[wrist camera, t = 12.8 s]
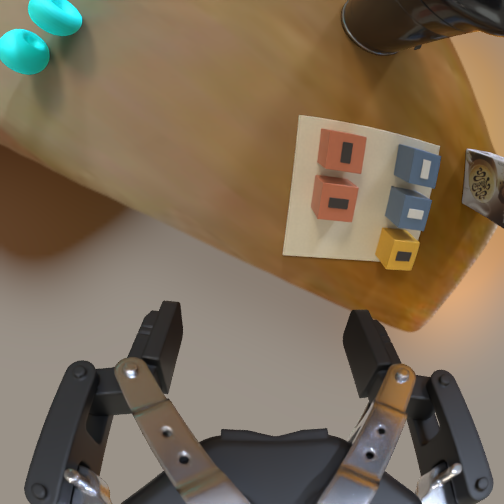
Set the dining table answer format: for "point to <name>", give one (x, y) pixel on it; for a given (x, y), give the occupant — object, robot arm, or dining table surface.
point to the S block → (397, 249)
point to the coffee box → (485, 184)
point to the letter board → (368, 199)
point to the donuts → (31, 45)
